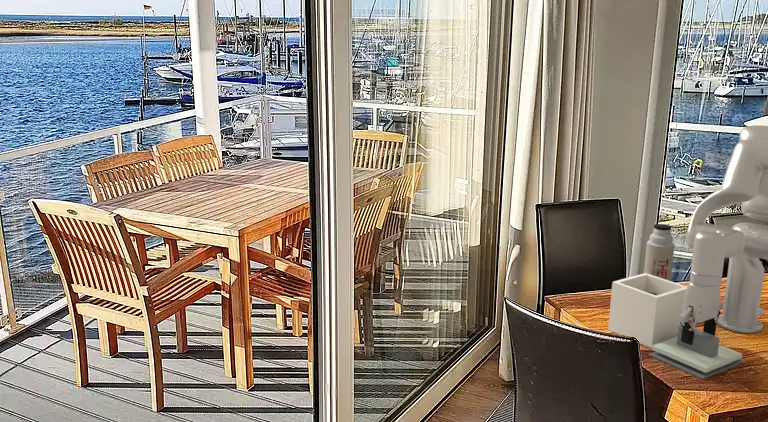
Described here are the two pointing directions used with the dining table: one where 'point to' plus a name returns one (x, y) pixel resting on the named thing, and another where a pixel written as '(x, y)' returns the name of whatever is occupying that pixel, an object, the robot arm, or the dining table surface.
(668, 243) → the thermos bottle
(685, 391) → the dining table surface
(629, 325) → the storage box
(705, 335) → the lid
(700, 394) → the dining table surface
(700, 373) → the mat
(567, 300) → the dining table surface
